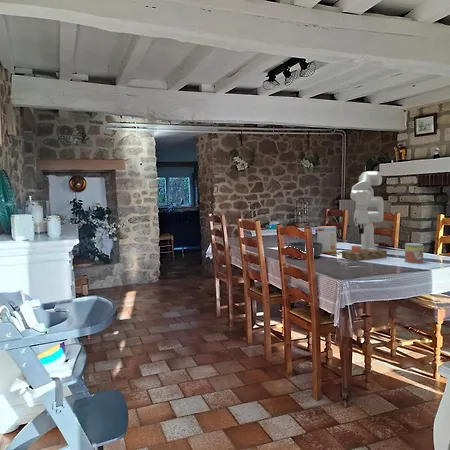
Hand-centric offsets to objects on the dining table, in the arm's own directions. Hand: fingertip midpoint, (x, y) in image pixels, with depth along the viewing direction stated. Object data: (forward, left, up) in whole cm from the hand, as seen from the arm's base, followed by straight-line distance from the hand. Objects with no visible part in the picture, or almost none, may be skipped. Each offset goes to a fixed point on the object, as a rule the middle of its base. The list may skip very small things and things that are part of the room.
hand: (361, 233), depth 296 cm
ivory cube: (-10, 0, -16) cm, 19 cm away
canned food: (-21, +28, -18) cm, 39 cm away
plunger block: (-3, 0, -18) cm, 18 cm away
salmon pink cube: (+4, 0, -13) cm, 14 cm away
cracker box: (+8, -30, -18) cm, 36 cm away
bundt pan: (+31, -25, -18) cm, 44 cm away
